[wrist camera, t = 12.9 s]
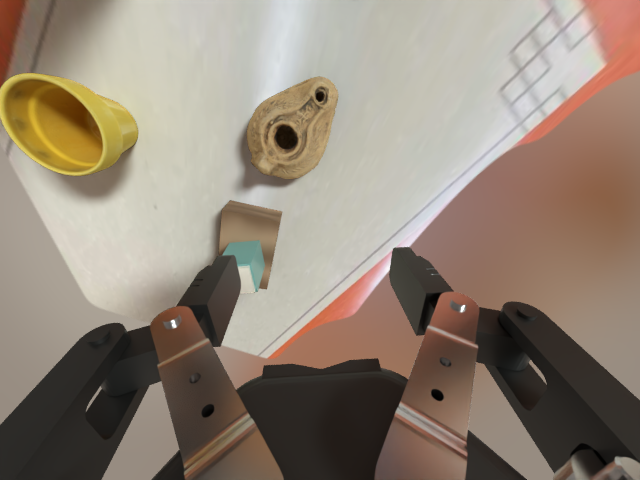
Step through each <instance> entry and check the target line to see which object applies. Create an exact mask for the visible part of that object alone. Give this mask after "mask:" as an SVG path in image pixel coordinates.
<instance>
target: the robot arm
mask: <svg viewBox="0 0 640 480" xmlns="http://www.w3.org/2000/svg"><path fill="white" fill-rule="evenodd" d="M389 276H390V282H391V286H392V288H393V289H394V292H395V294H396V296H397V298H398V300H399V302H400V304H401V306H402V308H403V310H404V312H405V314H406V316H407V318H408V320H409V322H410V324H411V326H412V328H413V330H414V332H415V334H416V335H424V338H423V341H422V343H421V346H420V349H419V352H418V354H417V357H416V360H415V363H414V365H413V368H412V371H411V374H410V376H409V379H407V378H405V377H404V376H402V375H400V374H398V373H396V372H393V371H391V370H387V369H383V368H381V367H380V364H379V360H378V359H361V360H349V361H346V362H343V363H340V364H337V365H334V366H331V367H327V368H324V369H317V368H312V367H307V366H301V365H295V364H282V365H266V366H264V368H263V374H262V376H259V377H257V378H254V379H252V380H250V381H248V382H247V383H245V384H244V385H242V386H241V387H239V388H238V389H237V390H236V389H235V388H234V386H233V384H232V382H231V380H230V378H229V376H228V374H227V372H226V371H225V369H224V367H223V365H222V363H221V361H220V359H219V357H218V355H217V354H216V352H215V350H214V348H213V347H220V346H221V343H222V341H223V338H224V335H225V332H226V330H227V327H228V324H229V321H230V319H231V316H232V313H233V311H234V308H235V305H236V302H237V300H238V297H239V294H240V291H241V279H240V275H239V270H238V266H237V261H236V257H235V256H234V255H220V256H217V258H216V259H215V261H214V263H213V264H212V266H207V267H205V268H204V269H203V270H201V271H200V272H199V273H198V274H197V276H196V277H195V279H194V281H193V282H192V283H191V285H190V287H189V288H188V289H187V291H186V292H185V294H184V295H183V297H182V298H181V300H180V301H179V303H178V304H177V306H176V307H173V308H170V309H167V310H165V311H163V312H162V313H160V314H159V315H158V316H156V317H155V318H154V319H153V321H152V322H151V325H149V326H146V327H142V328H139V329H135V330H131V331H128V332H127V331H126V329H125V327H124V326H123V325H122V324H120V323H111V324H106V325H103V326H100V327H98V328H96V329H93V330H92V331H90V332H88V333H87V334H85V335H84V336H83V337H82V338H81V339H79V341H78V342H77V343H76V344H75V345H74V346H73V347H72V348H71V349H70V350H69V351H68V352H67V354H65V356H64V357H63V358H62V359H61V360H60V361H59V362H58V363H57V364H56V365H55V366H54V368H53V369H52V370H51V371H50V372H49V373H48V374H47V375H46V376H45V377H44V378H43V379H42V381H41V382H40V383H39V384H38V385H37V386H36V387H35V388H34V389H33V390H32V391H31V392H30V393H29V394H28V396H27V397H26V398H25V399H24V400H23V401H22V402H21V403H20V404H19V405H18V407H16V409H15V410H14V411H13V412H12V413H11V414H10V415H9V416H8V417H7V418H6V419H5V420H4V422H3V423H2V424H1V425H0V480H101V479H102V477H103V475H104V473H105V471H106V470H107V468H108V466H109V464H110V462H111V460H112V458H113V456H114V454H115V452H116V450H117V448H118V446H119V444H120V442H121V440H122V438H123V436H124V434H125V432H126V430H127V428H128V427H129V425H130V423H131V421H132V419H133V417H134V415H135V413H136V411H137V409H138V407H139V405H140V403H141V401H142V399H143V397H144V395H145V393H146V391H147V389H148V387H149V385H151V384H154V383H157V382H160V381H162V385H163V389H164V392H165V396H166V400H167V404H168V408H169V411H170V415H171V419H172V423H173V426H174V430H175V434H176V438H177V441H178V445H179V449H180V450H179V451H178V452H177V453H176V454H175V455H174V456H173V457H172V458H171V459H170V460H169V461H168V462H167V464H166V465H165V466H164V467H163V468H162V469H161V470H160V471H159V472H158V473H157V474H156V476H154V477H153V479H152V480H527V479H526V478H524V477H523V476H522V475H521V474H520V473H518V472H517V471H516V470H515V469H514V468H513V467H511V466H510V465H509V464H508V463H507V462H506V461H504V460H503V459H502V458H501V457H500V456H498V455H497V454H496V453H495V452H494V451H493V450H491V449H490V448H489V447H488V446H487V445H486V444H484V443H483V442H482V441H481V440H480V439H479V438H477V437H476V436H475V435H474V434H473V433H471V432H470V431H469V430H468V425H469V417H470V408H471V400H472V392H473V383H474V376H475V367H476V362H478V363H483V364H485V366H486V368H487V369H488V370H489V372H490V374H491V375H492V377H493V378H494V380H495V381H496V383H497V385H498V386H499V388H500V389H501V391H502V392H503V394H504V396H505V397H506V399H507V400H508V402H509V403H510V405H511V406H512V408H513V409H514V411H515V413H516V414H517V416H518V417H519V419H520V420H521V422H522V423H523V425H524V427H525V428H526V430H527V431H528V433H529V434H530V436H531V438H532V439H533V441H534V442H535V444H536V445H537V447H538V448H539V450H540V452H541V453H542V455H543V456H544V458H545V459H546V461H547V462H548V464H549V466H550V467H551V469H552V470H553V472H554V473H555V474H554V477H553V480H640V400H639V399H638V398H637V397H635V396H634V395H633V394H632V393H631V392H630V391H629V390H628V389H627V388H626V387H624V386H623V385H622V384H621V383H620V382H619V381H618V380H617V379H616V378H614V377H613V376H612V375H611V374H610V373H609V372H608V371H607V370H606V369H605V368H604V367H602V366H601V365H600V364H599V363H598V362H597V361H596V360H595V359H594V358H593V357H591V356H590V355H589V354H588V353H587V352H586V351H585V350H584V349H582V347H580V346H579V345H578V344H577V343H576V342H575V341H574V340H573V339H572V338H571V337H569V336H568V335H567V334H566V333H565V332H564V331H563V330H562V329H561V328H560V327H558V326H557V325H556V324H555V323H554V322H553V321H552V320H551V319H550V318H549V317H547V316H546V315H545V314H544V313H543V312H541V311H540V310H538V309H537V308H535V307H533V306H530V305H528V304H524V303H521V302H507V303H505V304H504V305H503V308H502V310H501V311H498V310H492V309H486V308H481V307H479V306H478V304H477V303H476V302H475V301H474V300H473V299H472V298H470V297H468V296H466V295H464V294H461V293H457V292H454V291H453V290H452V289H451V287H450V286H449V285H448V284H447V283H446V281H445V280H444V279H443V278H442V277H441V276H440V275H439V273H438V272H437V270H435V269H434V267H433V266H432V264H431V263H430V262H429V261H427V260H426V259H424V258H422V257H421V256H416V255H415V253H414V252H413V251H412V249H410V247H399V248H394V249H393V251H392V258H391V266H390V274H389ZM530 360H532V362H533V363H534V364H535V365H536V366H537V367H538V368H539V370H540V371H541V372H542V374H543V375H544V377H545V379H546V382H547V385H546V384H545V383H544V382H543V380H542V379H541V377H540V376H539V375H538V374H537V373H536V372H535V370H534V369H533V368H532V367H531V365H530V364H529V361H530ZM100 386H101V388H102V390H101V391H100V392H99V394H98V395H97V397H96V398H95V400H94V401H93V403H92V404H91V406H90V407H89V408H88V410H87V412H86V408H87V406H88V404H89V402H90V400H91V399H92V397H93V396H94V394H95V393H96V391H97V390H98V388H99V387H100Z"/></svg>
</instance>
